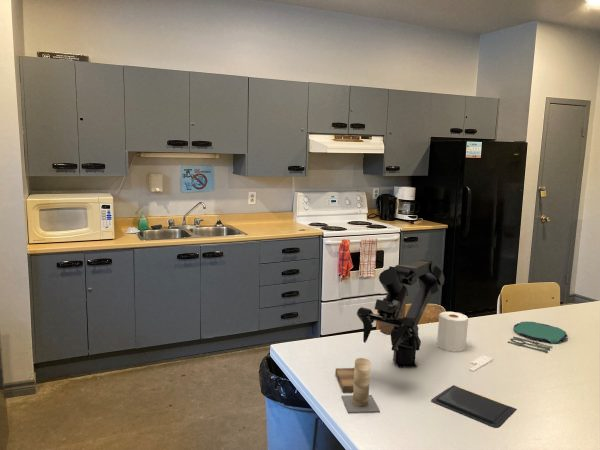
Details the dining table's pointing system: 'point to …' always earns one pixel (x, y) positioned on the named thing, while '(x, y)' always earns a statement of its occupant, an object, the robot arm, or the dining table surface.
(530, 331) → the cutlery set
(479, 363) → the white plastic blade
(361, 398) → the birch roller
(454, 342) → the toilet paper
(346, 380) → the walnut slab
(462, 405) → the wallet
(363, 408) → the support pad
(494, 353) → the dining table surface
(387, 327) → the wooden scoop
